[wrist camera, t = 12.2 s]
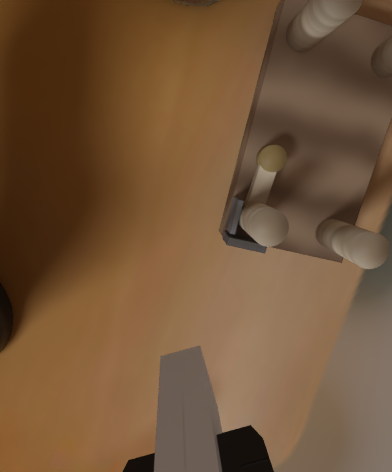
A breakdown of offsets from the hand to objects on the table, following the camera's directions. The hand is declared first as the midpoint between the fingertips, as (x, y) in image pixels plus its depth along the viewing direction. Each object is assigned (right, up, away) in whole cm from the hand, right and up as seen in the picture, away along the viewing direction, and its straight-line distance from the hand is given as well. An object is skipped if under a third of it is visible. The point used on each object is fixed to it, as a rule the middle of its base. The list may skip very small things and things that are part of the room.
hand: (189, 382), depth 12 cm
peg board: (+12, +16, +24) cm, 32 cm away
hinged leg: (+7, +10, +22) cm, 25 cm away
